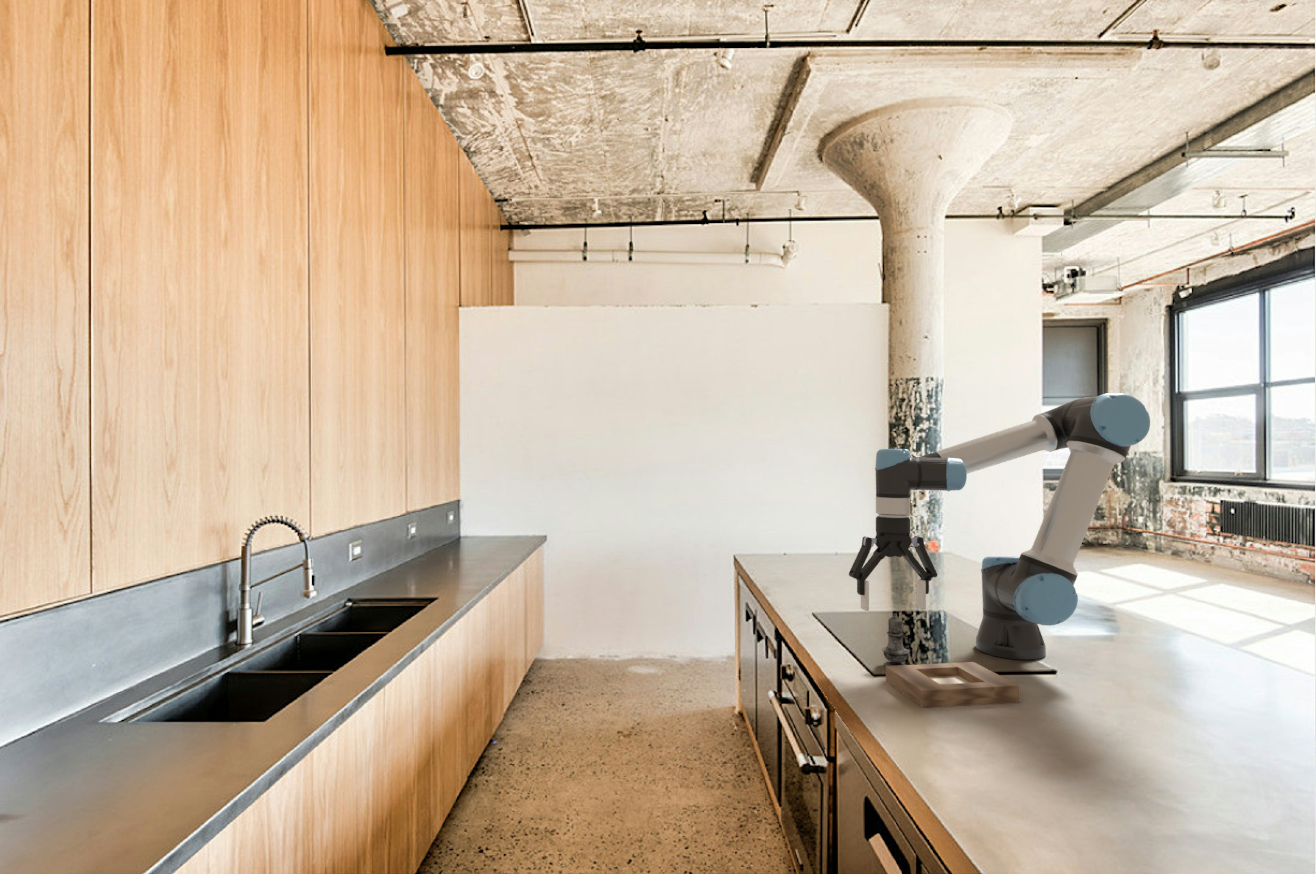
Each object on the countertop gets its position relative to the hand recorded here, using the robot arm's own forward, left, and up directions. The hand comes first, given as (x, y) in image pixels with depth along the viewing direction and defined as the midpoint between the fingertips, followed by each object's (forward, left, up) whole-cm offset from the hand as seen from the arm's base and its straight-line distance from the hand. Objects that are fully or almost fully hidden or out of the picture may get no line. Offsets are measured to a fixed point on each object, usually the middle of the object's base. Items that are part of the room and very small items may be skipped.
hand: (893, 609), depth 151 cm
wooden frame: (-3, +17, -13) cm, 22 cm away
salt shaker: (0, 0, -13) cm, 13 cm away
